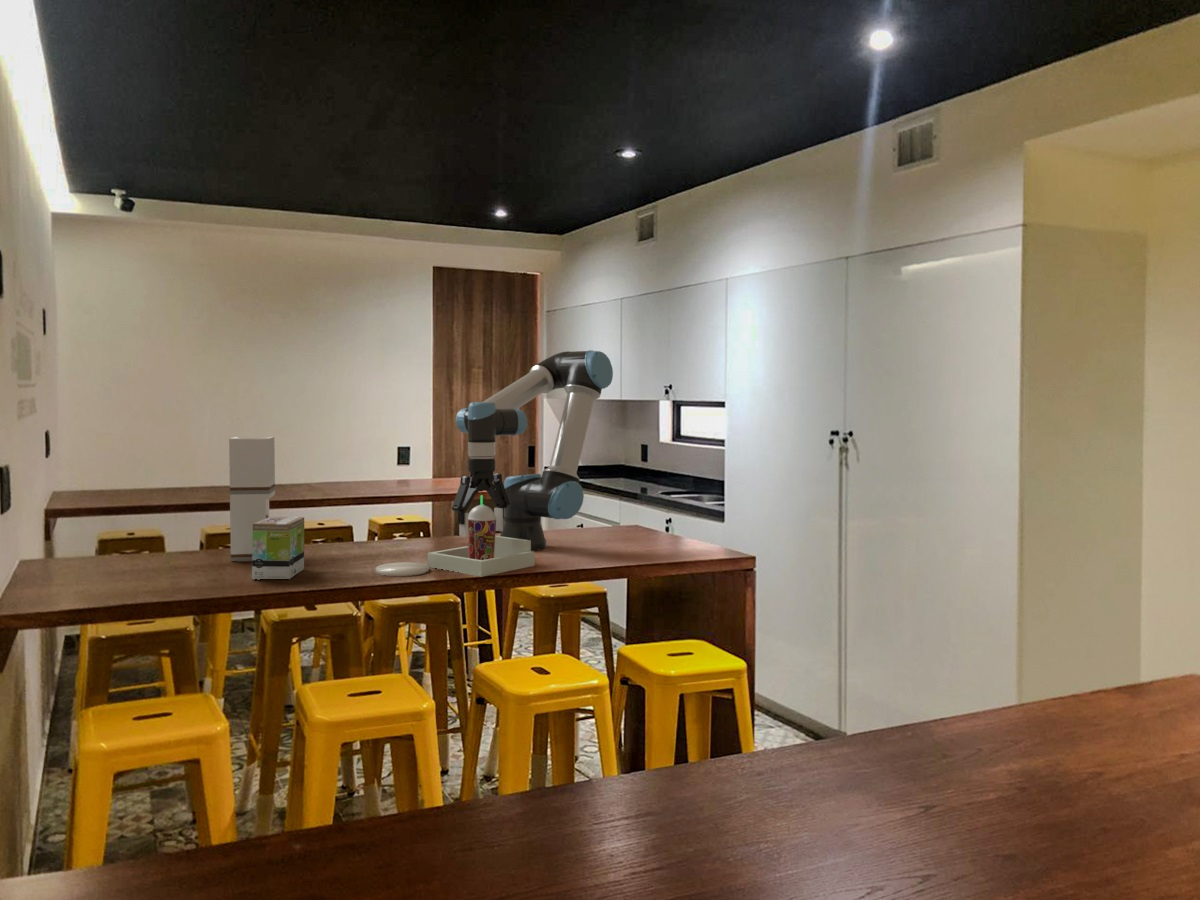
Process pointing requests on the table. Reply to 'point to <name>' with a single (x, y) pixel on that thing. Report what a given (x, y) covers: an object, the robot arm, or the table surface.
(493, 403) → the robot arm
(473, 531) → the smoothie
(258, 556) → the tea box
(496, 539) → the shallow open tray
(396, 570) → the saucer
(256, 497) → the striped white pillar
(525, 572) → the table surface
